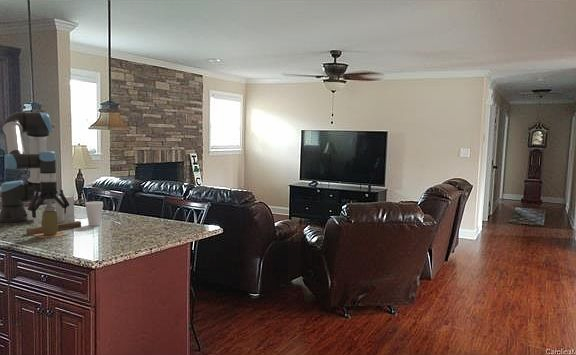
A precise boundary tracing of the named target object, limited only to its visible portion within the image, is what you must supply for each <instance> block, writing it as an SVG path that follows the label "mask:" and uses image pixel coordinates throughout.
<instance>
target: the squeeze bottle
mask: <svg viewBox="0 0 576 355" xmlns="http://www.w3.org/2000/svg"><path fill="white" fill-rule="evenodd" d="M41 217H42V218H41V225H40V227H41V229H42V231H43V234H44V235H55V234H56V233H57V232H58V231H57V230H58V228H59V226H58V224H59V223H58V219H57V212H56V206H53V204H52V199H49V200H47V204H46V206H45V207H44V211H43V212H42V216H41Z"/></svg>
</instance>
